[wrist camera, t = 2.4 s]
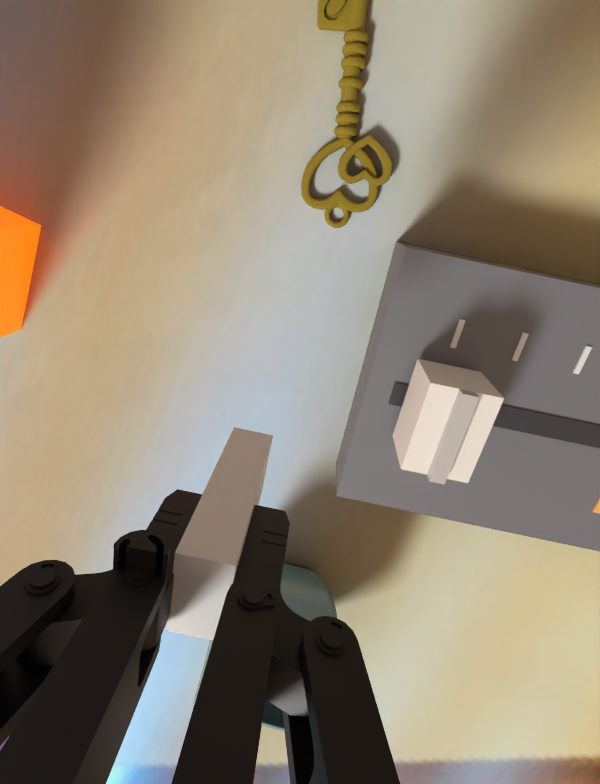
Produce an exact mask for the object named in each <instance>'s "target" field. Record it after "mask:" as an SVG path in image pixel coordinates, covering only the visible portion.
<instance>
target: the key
mask: <svg viewBox="0 0 600 784" xmlns="http://www.w3.org/2000/svg"><path fill="white" fill-rule="evenodd" d="M367 4H368V0H319V4H318V28H319V30H333V31H347V32H346V33H345V35H344V41H345V43H346V44H345V45H344V46H343V50H342V51H343V55H345V57H344V58H343V59H342V63H341V65H342V68H343V69H344V73H343V78H342V79H341V80H340V81H339V87H340V88H341V89H342V93H341V102H340V103H338V105H337V111H338V112H339V114H337V116H336V122H337V123H338V126H337V127H336V128H335V130H334V133H335V135H338V137H337V138H338V139H337V140H335V141H333V142H331V143H329V144H328V145H326V146H325V147H323V148H322V149H320V150H319V151H318V152H317V153H316V154H315V155H314V156H313V157H312V159H311V160H310V161H309V163H308V165H307V167H306V168H305V171H304V174H303V179H302V185H301V188H302V196H303V199H304V200H305V202H306V203H307V204H308V205H309V206H311V207H313V208H316V209H322V210H323V209H326V211H325V219H326V221H327V223H328V224H329V225H330V226H332V227H335V228H340V227H342V226H344V225H345V224H346V223H347V221H348V220H349V216H350V212H363V211H365V210H368V209H369V208H370V207H372V206H373V204H374V203H375V200H376V198H377V195H378V186H380V185H383V184H384V183H386V182H387V181H388V180H389V178H390V176H391V173H392V161H391V158H390V156H389V154H388V152H387V151H386V150H385V148H384V147H383V146H382V145H381V144H380V143H379V142H378V141H377V140H376V139H375V138H374V137H372V136H371V135H370V134H369V135H367V136H365V137H364V138H362V139H360V140H359V141H357V142H356V143H355V142H354V141H352V140H351V139H352V136H353V137H355V136H357V134H358V130H357V129H356V128H355V127H354V124H355V125H356V124H358V123H359V116H358V115H355V113H356V114H358V113H359V112H360V109H361V107H360V105H359V104H357V103H356V102H357V93H358V90H361V89H362V88H363V81H362V80H361V79H359V75H360V70H363V69H365V66H366V61H365V59H364V58H361V57H365V56H366V55H367V47H366V46H365V45H366V44H367V43H368V41H369V35H368V34H367V32H364V31H365V22H366V13H367ZM366 145H369V146H370V147H372V148H373V149H374V150H375V152H376V153H377V154H378V156H379V157H380V159H381V161H382V165H383V172H382V175H381V176H380V177H379V178H378V175H377V171H376V168H375V165H374V164H373V162H372V160H371V158H370V157H369V155H368V154H367V153H366V152H365V151H364V150H363V149H362V148H363V147H365V146H366ZM342 147H345V148H346V149H347V150H346V151H345V152H344V153H343V155H342V156H341V158H340V161H339V166H338V172H339V176H340V177H341V179H342V180H343V181H345V182H346V183H350V184H352V183H356V182H358V181H360V180H362V179H363V178H364V179H365V180H367V181H368V182H369V195H368V198H367V200H365V201H364V202H354V201H352V200H350V199H348V198H347V196H346V195H345V194H344V193H343V192H342V190H341V189H338V190H337V191H336V192H335V193H333V194H332V195H331V196H329V197H327V198H324V199H317V198H314V197H312V196H311V194H310V184H311V180H312V177H313V174H314V172H315V170H316V169H317V168H318V166H319V165H320V163H321V162H322V161H323V160H324V159H325V158H326V157H327V156H328V155H330V154H332V153H333V152H335V151H337V150H339V149H341V148H342ZM354 155H355V156H356V157H357V158H358V159H359V161H360V162H361V164H362V165H363V167H364V168H365V169H364V170H362V171H361V172H360V173H358V174H356V175H354V176H351V175H349V174H348V172H347V166H348V163H349V161H350V159H351V158H352V157H353V156H354ZM336 207H339V208H341V209H342V210H343V212H344V216H343V218H342V220H340V221H338V222H336V221H334V220H333V219H331V211H332V209H334V208H336Z"/></svg>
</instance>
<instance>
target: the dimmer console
mask: <svg viewBox="0 0 600 784" xmlns="http://www.w3.org/2000/svg"><path fill="white" fill-rule="evenodd" d="M417 359H422V360H427V361H432V362H436V363H441V364H446V365H451V366H455V367H460V368H465V369H470V370H474V371H479V372H482V374H483V375H484V376H485V377H486V378H487V379H488V380H489V382H490V383H491V384H492V385H493V386H494V387H495V388H496V389H497V391H498V392H499V393H500V394H501V395H502V396H503V397H504V400H503V403H502V405H501V407H500V410H499V412H498V414H497V417H496V419H495V421H494V424H493V426H492V428H491V431H490V433H489V435H488V438H487V440H486V442H485V445H484V447H483V449H482V452H481V454H480V456H479V459H478V461H477V463H476V466H475V468H474V470H473V473H472V475H471V477H470V480H469V482H468V483H464V482H460V481H455V480H450V479H446V482H445V484H439V483H435V482H430V481H429V479H428V476H427V475H426V474H421V473H417V472H412V471H407V470H402V469H401V468H400V464H399V460H398V456H397V452H396V448H395V444H394V440H393V433H394V430H395V427H396V424H397V420H398V417H399V414H400V411H401V408H402V405H403V402H404V399H405V396H406V393H407V390H408V387H409V383H410V380H411V377H412V374H413V371H414V368H415V365H416V362H417ZM336 496H338V497H343V498H348V499H352V500H357V501H362V502H367V503H372V504H376V505H381V506H386V507H391V508H395V509H400V510H405V511H410V512H414V513H419V514H424V515H429V516H434V517H438V518H443V519H448V520H453V521H457V522H462V523H467V524H472V525H477V526H481V527H486V528H491V529H496V530H500V531H505V532H510V533H515V534H519V535H524V536H529V537H534V538H539V539H543V540H548V541H553V542H558V543H562V544H567V545H572V546H577V547H582V548H586V549H591V550H596V551H600V285H599V284H594V283H589V282H584V281H580V280H575V279H570V278H566V277H561V276H556V275H551V274H547V273H542V272H537V271H533V270H528V269H523V268H518V267H514V266H509V265H504V264H500V263H495V262H490V261H485V260H481V259H476V258H471V257H467V256H462V255H457V254H452V253H448V252H443V251H438V250H434V249H429V248H424V247H419V246H415V245H410V244H405V243H401V242H396V244H395V248H394V252H393V255H392V259H391V263H390V267H389V270H388V274H387V278H386V281H385V285H384V289H383V292H382V296H381V300H380V304H379V307H378V311H377V315H376V318H375V322H374V326H373V329H372V333H371V337H370V341H369V344H368V348H367V352H366V355H365V359H364V363H363V366H362V370H361V374H360V378H359V381H358V385H357V389H356V392H355V396H354V400H353V403H352V407H351V411H350V414H349V418H348V422H347V426H346V429H345V433H344V437H343V440H342V444H341V448H340V451H339V455H338V459H337V463H336Z"/></svg>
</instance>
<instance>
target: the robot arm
mask: <svg viewBox="0 0 600 784" xmlns="http://www.w3.org/2000/svg"><path fill="white" fill-rule="evenodd" d="M272 437H273V436H272V435H267V434H263V433H258V432H253V431H249V430H244V429H239V428H235V427H234V429H233V431H232V433H231V435H230V437H229V440H228V442H227V444H226V446H225V448H224V450H223V452H222V454H221V456H220V459H219V461H218V463H217V465H216V467H215V469H214V471H213V473H212V475H211V478H210V480H209V482H208V484H207V486H206V488H205V490H204V492H203V494H202V495H201V494H197V493H192V492H187V491H183V490H176V491H175V492H173V493H172V494H170V495H169V496H167V497H166V498H165V499H164V501H163V503H162V504H161V506H160V508H159V510H158V511H157V513H156V514H155V516H154V518H153V521H151V523H150V524H149V526H148V528H147V530H139V531H134V532H130V533H128V534H126V535H124V536H122V537H120V538H119V539H118V540H117V541H116V542H115V543H114V561H113V569H112V570H109V571H106V572H102V573H95V574H80V575H75V574H74V571H73V568H72V567H71V566H69V565H68V564H67V563H66V562H62V561H58V560H45V561H40V562H37V563H34V564H31V565H29V566H27V567H26V568H24V569H22V570H21V571H19V572H18V573H17V574H15V575H14V576H13V577H12V578H10V579H9V580H8V581H6V582H5V583H4V584H3V585H1V586H0V745H1V744H2V743H3V742H4V741H5V740H6V739H7V737H8V736H9V735H10V734H11V735H10V736H9V738H8V739H7V741H6V743H5V744H4V746H3V747H2V749H1V751H0V784H106V782H107V779H108V777H109V774H110V772H111V769H112V767H113V764H114V762H115V759H116V757H117V754H118V752H119V749H120V747H121V744H122V742H123V739H124V737H125V734H126V732H127V729H128V727H129V724H130V722H131V719H132V717H133V714H134V712H135V709H136V707H137V704H138V702H139V699H140V697H141V694H142V692H143V689H144V687H145V684H146V682H147V679H148V677H149V674H150V672H151V669H152V667H153V664H154V662H155V659H156V657H157V654H158V652H159V647H160V641H161V634H162V632H163V630H164V627H165V625H166V622H167V630H166V631H170V632H175V633H180V634H185V635H189V636H194V637H199V638H204V639H209V640H213V643H212V646H211V649H210V653H209V656H208V660H207V663H206V667H205V670H204V674H203V677H202V681H201V684H200V688H199V691H198V694H197V698H196V701H195V705H194V708H193V712H192V715H191V719H190V722H189V726H188V729H187V732H186V736H185V739H184V743H183V746H182V750H181V753H180V757H179V760H178V764H177V767H176V770H175V774H174V777H173V781H172V784H253V780H254V773H255V766H256V759H257V753H258V746H259V739H260V732H261V725H262V718H263V712H264V705H265V700H267V701H268V702H270V703H272V704H273V705H275V706H276V707H278V708H280V709H281V710H283V720H284V729H285V738H286V747H287V756H288V766H289V775H290V784H400V782H399V779H398V775H397V772H396V768H395V765H394V762H393V758H392V755H391V752H390V748H389V745H388V741H387V738H386V735H385V731H384V728H383V724H382V721H381V718H380V714H379V711H378V707H377V704H376V701H375V697H374V694H373V691H372V687H371V684H370V680H369V677H368V674H367V670H366V667H365V663H364V660H363V657H362V653H361V650H360V647H359V643H358V640H357V638H356V636H355V634H354V632H353V630H352V629H351V628H350V627H349V626H348V625H347V624H346V623H345V622H343V621H341V620H339V619H337V618H335V617H330V616H321V617H316V618H314V619H313V620H311V621H309V620H307V619H305V618H303V617H301V616H300V615H298V614H297V613H295V612H294V611H292V610H291V609H290V608H289V607H288V606H287V605H286V603H285V601H284V600H283V598H282V595H281V586H280V585H281V578H282V571H283V564H284V558H285V551H286V544H287V537H288V530H289V520H288V518H287V515H286V513H285V511H282V510H277V509H273V508H268V507H263V506H258V504H259V500H260V496H261V492H262V487H263V482H264V477H265V472H266V467H267V462H268V457H269V452H270V447H271V442H272ZM167 620H168V621H167Z"/></svg>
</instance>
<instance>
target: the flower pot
mask: <svg viewBox="0 0 600 784" xmlns="http://www.w3.org/2000/svg"><path fill="white" fill-rule="evenodd" d="M280 586H281V595H282V598H283V600H284V601H285V603H286V605H287V606H288V607H289V608H290V609H291V610H292V611H294V612H295V613H297V614H298V615H300V616H301V617H303V618H305V619H307V620H309V621H311V620H313V619H314V618H316V617H321V616H330V617H335V618H337V614H336V608H335V604H334V601H333V598H332V596H331V593H330V591H329V589H328V587H327V586H326V584H325V583H324V582H323V580H322V579H321V578H320V577H319V576H318V575H317V574H316V573H315V572H314V571H312V570H309V569H305V568H302V567H297V566H293V565H289V564H286V563H284V564H283V571H282V578H281V585H280ZM212 643H213V640H210V643H209V647H208V651H207V654H206V659H205V662H204V666H203V670H202V673H201V677H200V681H199V684H198V688H197V692H196V695H195V698H194V705H195V701H196V698H197V694H198V691H199V688H200V684H201V681H202V677H203V674H204V670H205V667H206V663H207V660H208V656H209V653H210V649H211V646H212ZM262 726H266V727H270V728H273V729H277V730H281V731H285V729H284V720H283V710H281V709H280V708H278V707H276V706H275V705H273V704H272V703H270V702H268V701H267V700H265V705H264V712H263V718H262Z"/></svg>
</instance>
